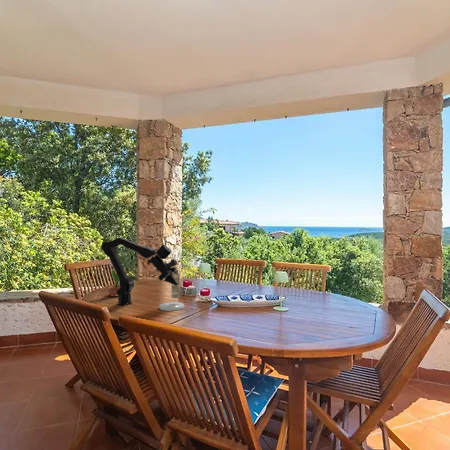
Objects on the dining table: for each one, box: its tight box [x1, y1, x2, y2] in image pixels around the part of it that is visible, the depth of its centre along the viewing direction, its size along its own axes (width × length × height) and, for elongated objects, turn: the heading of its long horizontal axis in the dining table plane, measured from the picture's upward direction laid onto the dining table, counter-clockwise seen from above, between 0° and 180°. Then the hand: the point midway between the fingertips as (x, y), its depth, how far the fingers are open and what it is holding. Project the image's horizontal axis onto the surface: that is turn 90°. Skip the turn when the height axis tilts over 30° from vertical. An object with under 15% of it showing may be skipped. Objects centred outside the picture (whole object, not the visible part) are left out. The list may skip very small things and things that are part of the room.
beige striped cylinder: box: [171, 269, 181, 299], centre depth 194 cm, size 5×5×16 cm
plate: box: [158, 301, 185, 312], centre depth 189 cm, size 14×14×1 cm
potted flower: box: [107, 259, 120, 297], centre depth 222 cm, size 12×10×25 cm
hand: (178, 283), depth 194 cm, fingers closed on beige striped cylinder, 5 cm apart
